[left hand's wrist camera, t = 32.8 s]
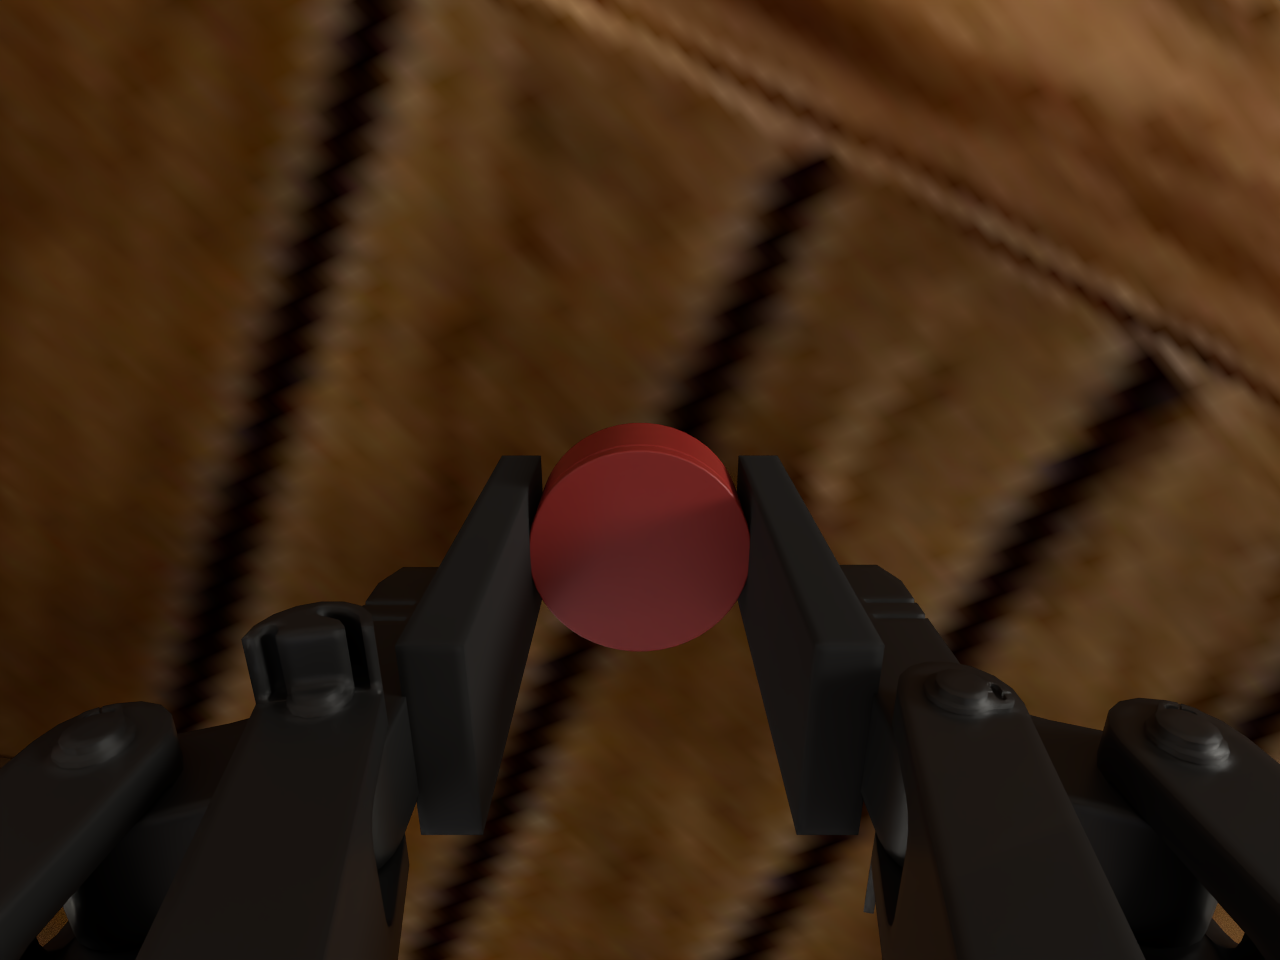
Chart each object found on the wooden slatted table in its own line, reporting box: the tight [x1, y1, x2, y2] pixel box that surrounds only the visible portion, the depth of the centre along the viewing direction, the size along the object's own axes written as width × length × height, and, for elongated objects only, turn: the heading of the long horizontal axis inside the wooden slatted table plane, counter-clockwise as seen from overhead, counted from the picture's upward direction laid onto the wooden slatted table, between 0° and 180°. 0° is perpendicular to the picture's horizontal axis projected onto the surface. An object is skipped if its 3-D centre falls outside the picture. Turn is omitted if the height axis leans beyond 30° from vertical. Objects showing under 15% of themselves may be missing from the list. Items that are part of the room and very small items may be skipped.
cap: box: [529, 423, 750, 651], centre depth 13 cm, size 4×4×2 cm
